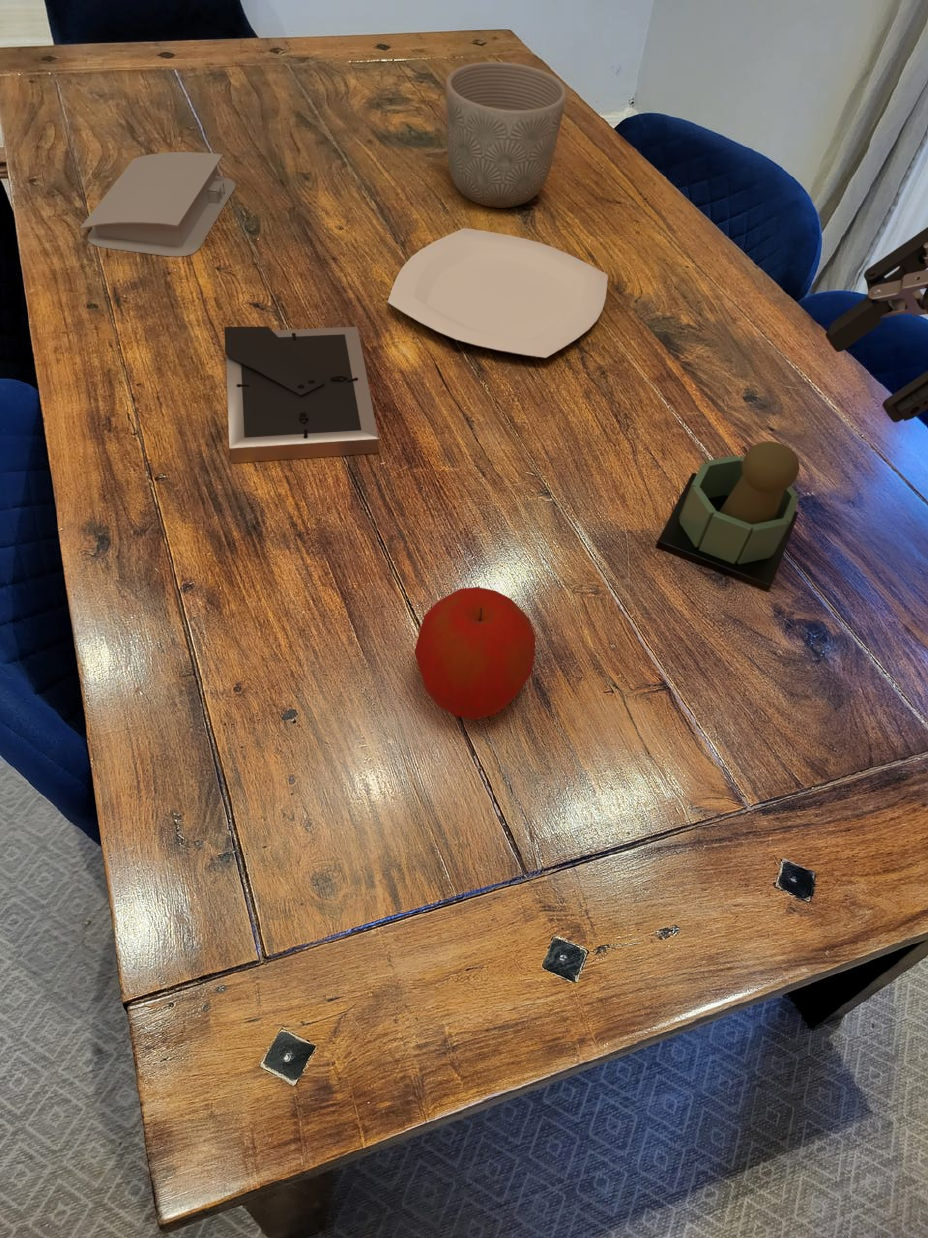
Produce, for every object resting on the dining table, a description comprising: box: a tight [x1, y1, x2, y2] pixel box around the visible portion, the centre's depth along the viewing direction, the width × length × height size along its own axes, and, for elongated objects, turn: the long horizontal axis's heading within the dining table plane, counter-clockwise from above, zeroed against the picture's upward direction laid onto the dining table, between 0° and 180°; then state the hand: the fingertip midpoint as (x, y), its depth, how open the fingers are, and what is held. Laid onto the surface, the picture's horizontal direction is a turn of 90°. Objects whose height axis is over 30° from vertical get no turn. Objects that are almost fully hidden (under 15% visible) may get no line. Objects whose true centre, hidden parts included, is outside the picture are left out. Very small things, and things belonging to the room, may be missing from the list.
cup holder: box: [655, 454, 800, 593], centre depth 90 cm, size 12×12×6 cm
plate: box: [387, 227, 609, 360], centre depth 115 cm, size 27×27×2 cm
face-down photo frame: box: [224, 325, 380, 464], centre depth 100 cm, size 16×3×21 cm
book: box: [79, 151, 236, 258], centre depth 122 cm, size 15×23×4 cm, turn 173°
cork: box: [719, 440, 800, 525], centre depth 87 cm, size 6×6×11 cm
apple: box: [413, 586, 536, 720], centre depth 73 cm, size 10×10×12 cm
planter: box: [445, 61, 568, 209], centre depth 128 cm, size 17×17×15 cm
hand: (858, 377), depth 65 cm, fingers open, 8 cm apart
